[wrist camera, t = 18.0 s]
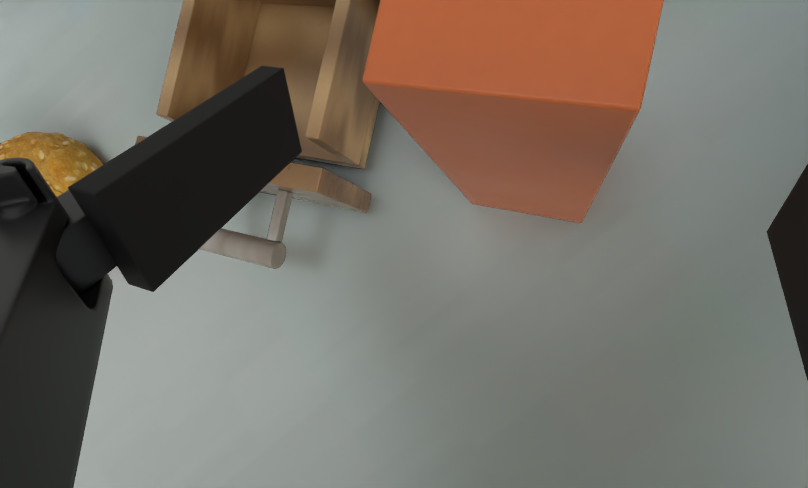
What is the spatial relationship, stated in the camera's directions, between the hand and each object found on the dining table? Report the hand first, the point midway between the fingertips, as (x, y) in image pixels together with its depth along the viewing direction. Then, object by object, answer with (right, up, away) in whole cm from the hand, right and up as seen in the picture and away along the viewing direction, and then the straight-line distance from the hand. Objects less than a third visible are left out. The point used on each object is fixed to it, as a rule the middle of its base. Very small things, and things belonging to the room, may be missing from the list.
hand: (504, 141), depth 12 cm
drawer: (-9, +4, +17) cm, 20 cm away
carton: (+5, +1, +13) cm, 14 cm away
